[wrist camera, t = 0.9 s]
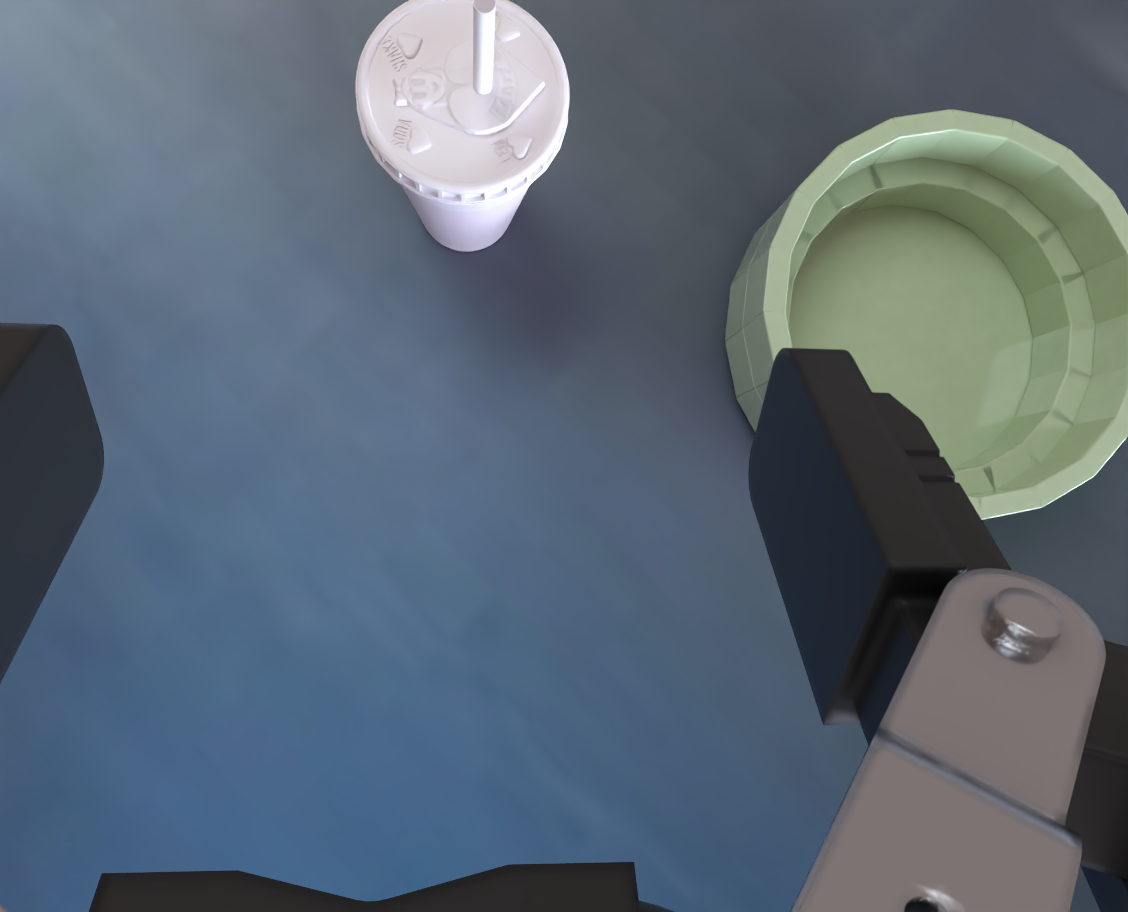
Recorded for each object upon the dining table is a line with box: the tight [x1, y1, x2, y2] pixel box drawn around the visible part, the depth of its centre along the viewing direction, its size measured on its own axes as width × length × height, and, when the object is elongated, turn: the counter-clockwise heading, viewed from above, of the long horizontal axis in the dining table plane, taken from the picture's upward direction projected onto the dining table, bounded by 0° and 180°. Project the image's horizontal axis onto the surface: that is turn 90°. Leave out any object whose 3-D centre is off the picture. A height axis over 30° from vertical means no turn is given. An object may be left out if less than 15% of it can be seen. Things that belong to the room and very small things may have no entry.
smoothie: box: [356, 0, 570, 251], centre depth 30 cm, size 6×6×14 cm
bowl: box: [725, 109, 1128, 520], centre depth 35 cm, size 15×15×6 cm
